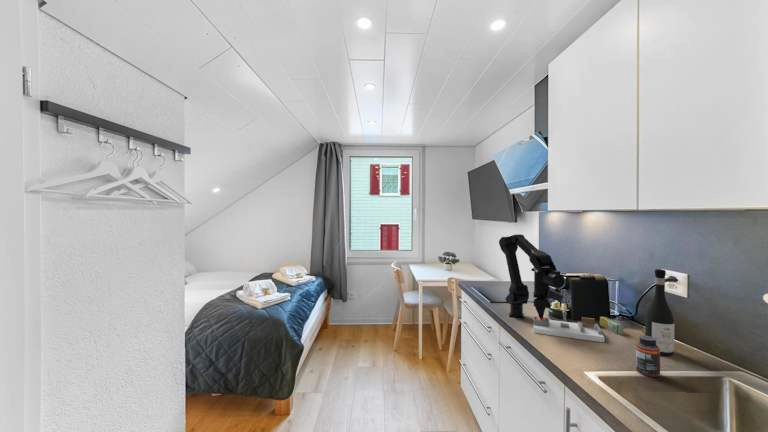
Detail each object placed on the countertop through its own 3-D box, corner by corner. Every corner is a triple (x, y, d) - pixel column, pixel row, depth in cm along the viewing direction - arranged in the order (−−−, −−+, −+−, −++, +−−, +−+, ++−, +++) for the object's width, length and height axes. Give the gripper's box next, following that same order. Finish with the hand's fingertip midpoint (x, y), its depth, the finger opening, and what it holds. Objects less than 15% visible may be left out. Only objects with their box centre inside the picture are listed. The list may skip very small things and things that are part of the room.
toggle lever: (562, 320, 140) (561, 310, 142) (566, 321, 140) (566, 311, 141) (562, 320, 139) (562, 310, 140) (567, 321, 138) (566, 311, 139)
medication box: (624, 335, 135) (624, 325, 135) (617, 335, 135) (617, 325, 135) (605, 325, 147) (605, 316, 147) (599, 324, 147) (599, 316, 147)
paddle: (581, 325, 139) (581, 317, 139) (594, 326, 138) (594, 318, 138) (582, 326, 138) (582, 317, 138) (594, 327, 137) (594, 319, 137)
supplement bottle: (651, 369, 106) (651, 334, 106) (665, 378, 100) (665, 341, 100) (631, 368, 107) (631, 333, 106) (644, 377, 101) (644, 341, 100)
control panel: (533, 322, 150) (533, 313, 150) (597, 330, 140) (597, 320, 140) (533, 332, 137) (534, 323, 137) (604, 342, 127) (604, 332, 127)
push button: (536, 320, 145) (536, 316, 145) (546, 322, 144) (546, 317, 144) (536, 323, 142) (536, 319, 142) (546, 324, 140) (546, 320, 140)
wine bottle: (679, 357, 114) (680, 272, 114) (653, 355, 116) (654, 271, 115) (664, 347, 122) (665, 268, 122) (640, 346, 123) (641, 267, 123)
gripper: (564, 289, 131) (564, 328, 131) (560, 280, 148) (560, 314, 148) (533, 286, 135) (533, 324, 135) (533, 278, 152) (533, 311, 152)
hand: (541, 318), depth 143 cm, fingers closed, pressing on push button
